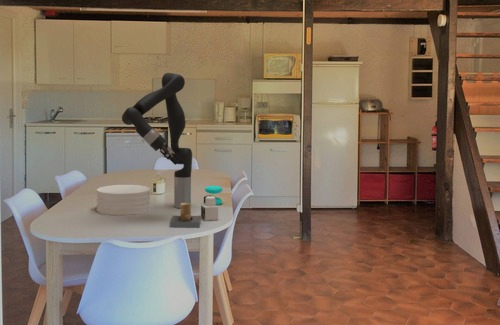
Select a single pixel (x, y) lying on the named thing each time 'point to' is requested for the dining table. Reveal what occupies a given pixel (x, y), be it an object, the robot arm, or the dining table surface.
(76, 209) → the dining table surface
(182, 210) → the square peg
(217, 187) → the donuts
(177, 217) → the socket plate
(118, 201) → the plate stack
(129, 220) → the dining table surface
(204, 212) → the medicine bottle
